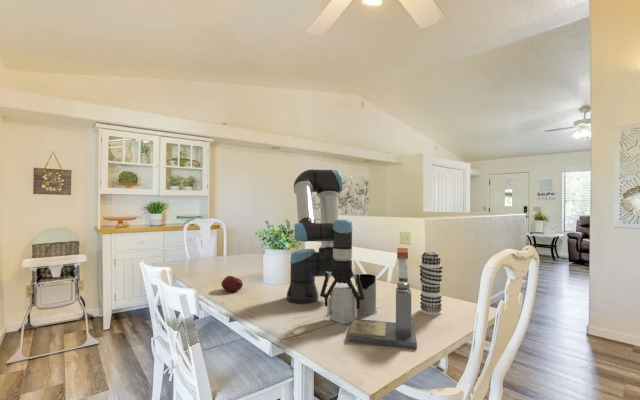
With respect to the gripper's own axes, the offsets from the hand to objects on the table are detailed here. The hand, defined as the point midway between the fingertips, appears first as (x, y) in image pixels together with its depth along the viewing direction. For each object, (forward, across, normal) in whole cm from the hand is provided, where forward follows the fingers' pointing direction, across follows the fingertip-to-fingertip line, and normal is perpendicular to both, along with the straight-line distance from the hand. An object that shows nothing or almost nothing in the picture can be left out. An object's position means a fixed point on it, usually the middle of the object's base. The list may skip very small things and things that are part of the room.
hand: (342, 315), depth 127 cm
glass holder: (+2, +6, +14) cm, 15 cm away
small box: (+2, 0, 0) cm, 2 cm away
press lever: (-19, +23, -2) cm, 30 cm away
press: (+2, +16, -11) cm, 19 cm away
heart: (+2, -63, +27) cm, 69 cm away
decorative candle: (+2, +35, +19) cm, 40 cm away
